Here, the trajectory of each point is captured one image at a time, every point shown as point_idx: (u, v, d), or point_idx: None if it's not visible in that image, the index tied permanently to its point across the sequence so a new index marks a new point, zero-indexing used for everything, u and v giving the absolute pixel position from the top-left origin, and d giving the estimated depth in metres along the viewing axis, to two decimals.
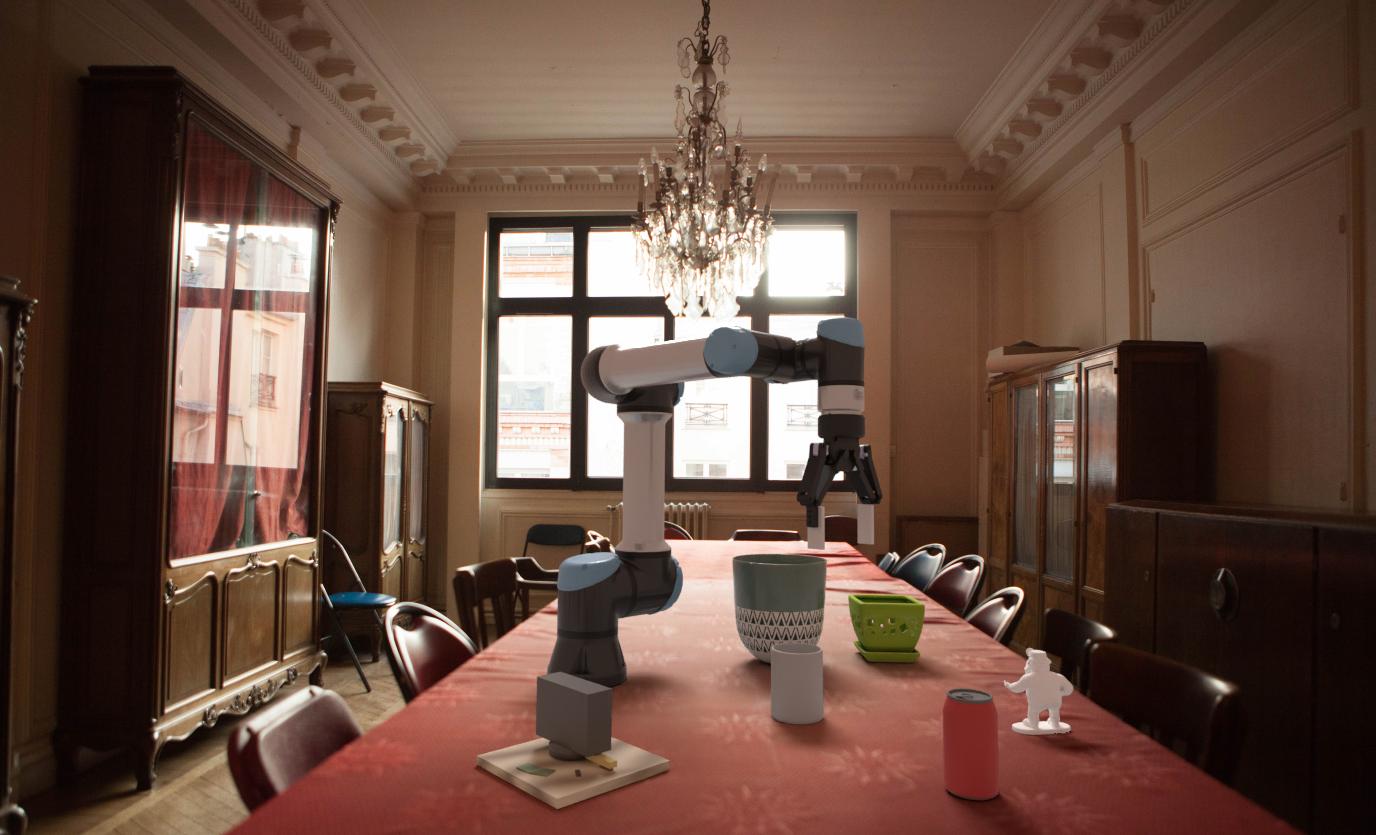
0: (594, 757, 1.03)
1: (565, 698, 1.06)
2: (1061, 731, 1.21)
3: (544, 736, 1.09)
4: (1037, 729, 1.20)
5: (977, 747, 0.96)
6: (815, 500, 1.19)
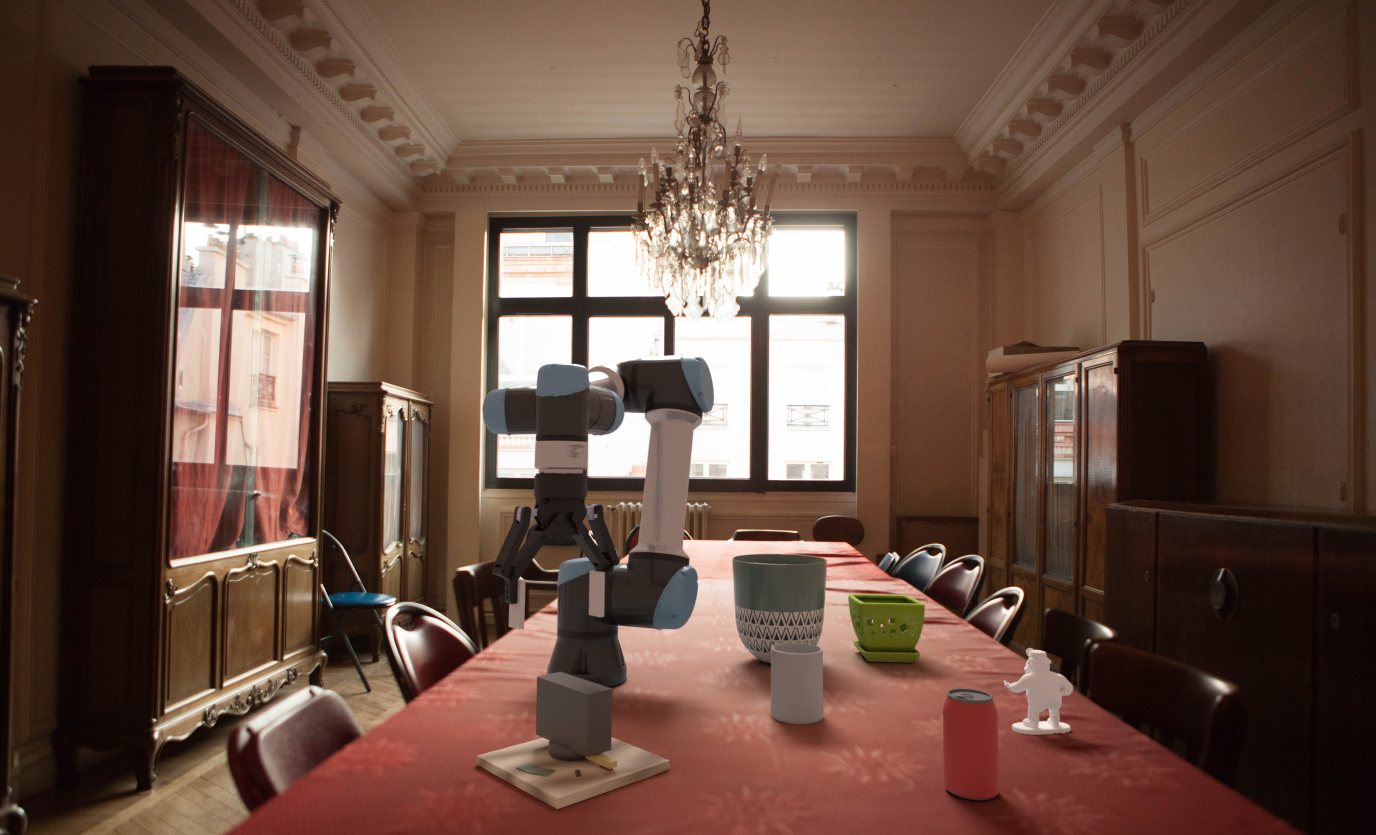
0: (594, 757, 1.03)
1: (565, 698, 1.06)
2: (1061, 731, 1.21)
3: (544, 736, 1.09)
4: (1037, 729, 1.20)
5: (977, 747, 0.96)
6: (512, 573, 1.05)
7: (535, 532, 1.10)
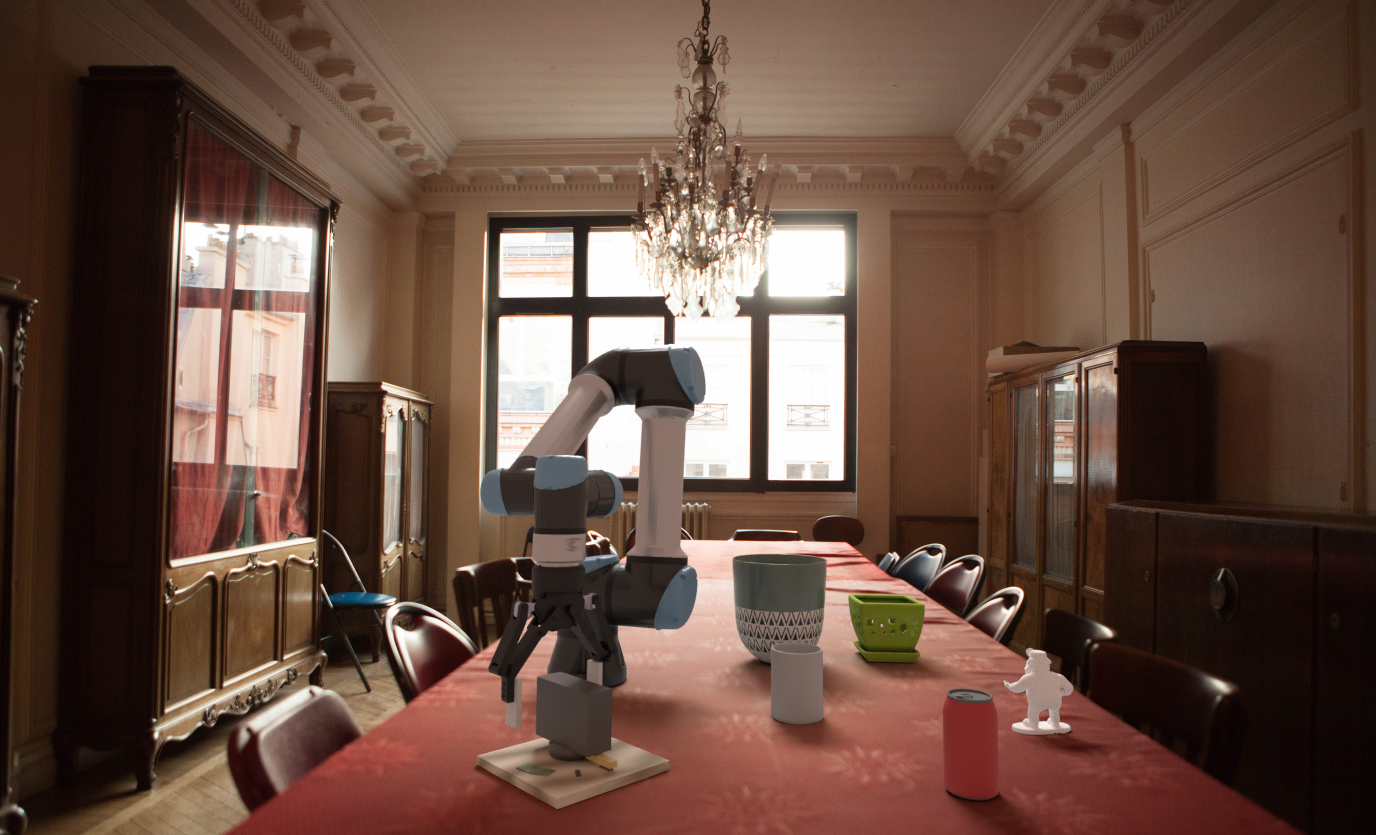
0: (594, 757, 1.03)
1: (565, 698, 1.06)
2: (1061, 731, 1.21)
3: (544, 736, 1.09)
4: (1037, 729, 1.20)
5: (977, 747, 0.96)
6: (509, 672, 1.04)
7: (532, 626, 1.09)
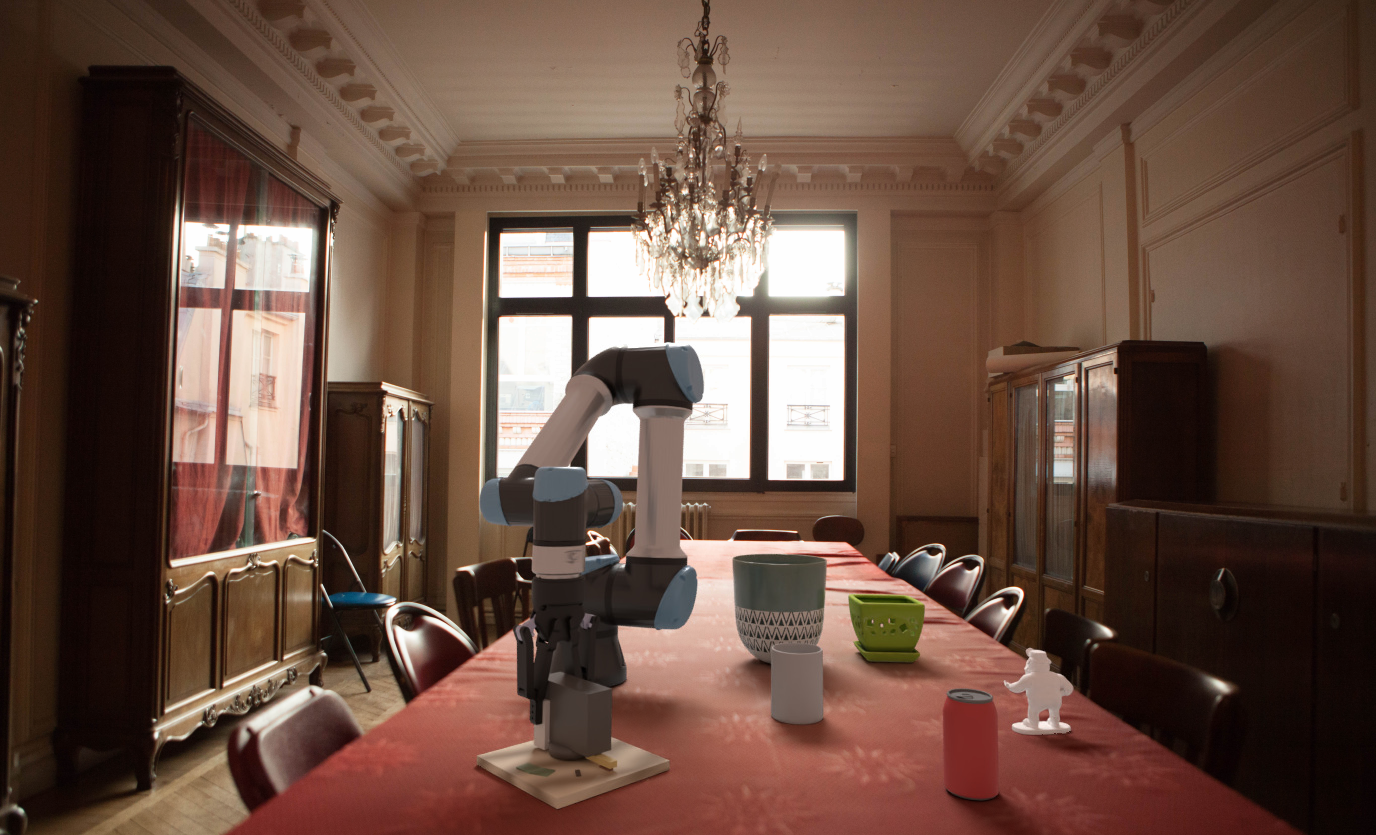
0: (594, 757, 1.03)
1: (565, 698, 1.06)
2: (1061, 731, 1.21)
3: None
4: (1037, 729, 1.20)
5: (977, 747, 0.96)
6: (537, 697, 1.07)
7: (540, 644, 1.10)
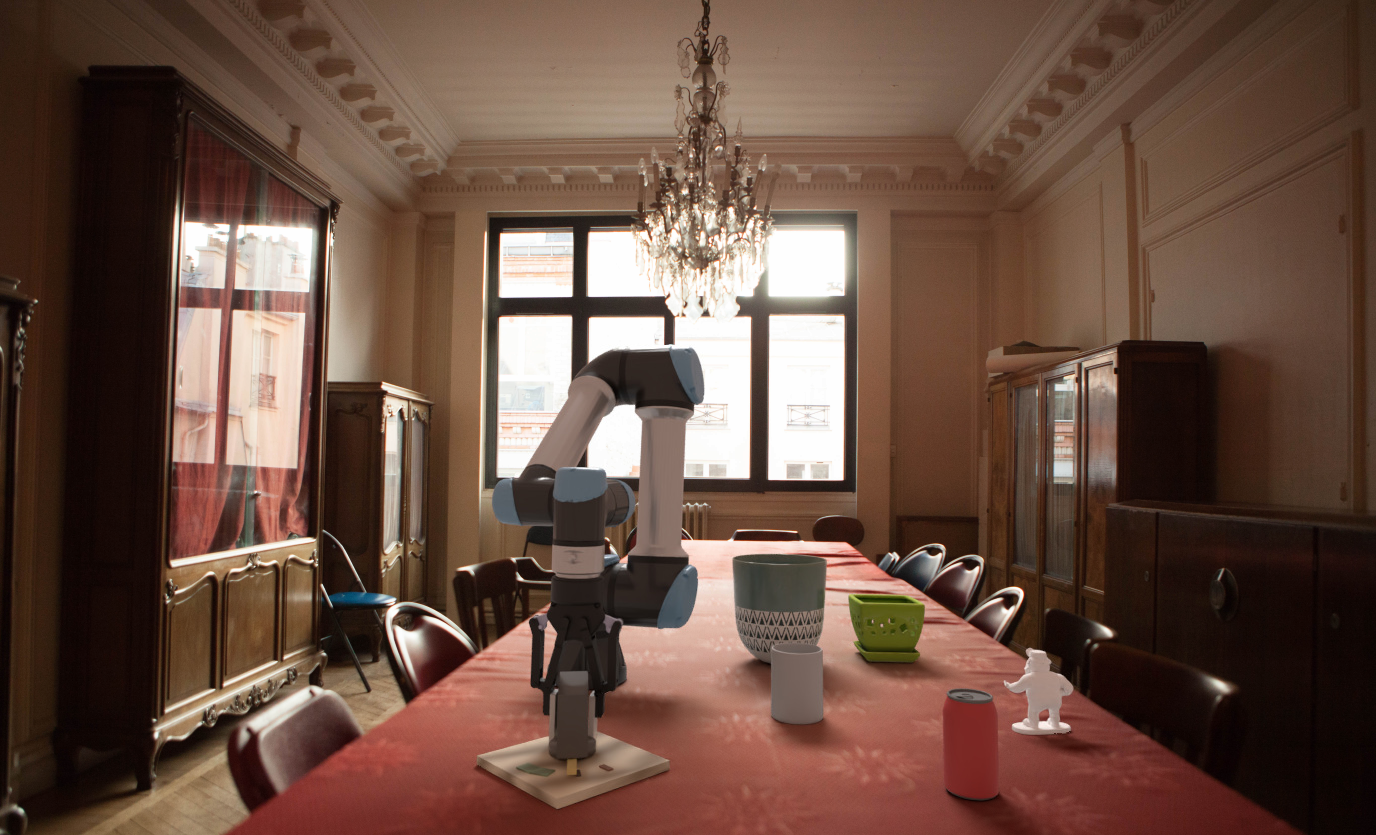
0: (567, 760, 1.02)
1: None
2: (1061, 731, 1.21)
3: None
4: (1037, 729, 1.20)
5: (977, 747, 0.96)
6: (543, 687, 1.11)
7: None
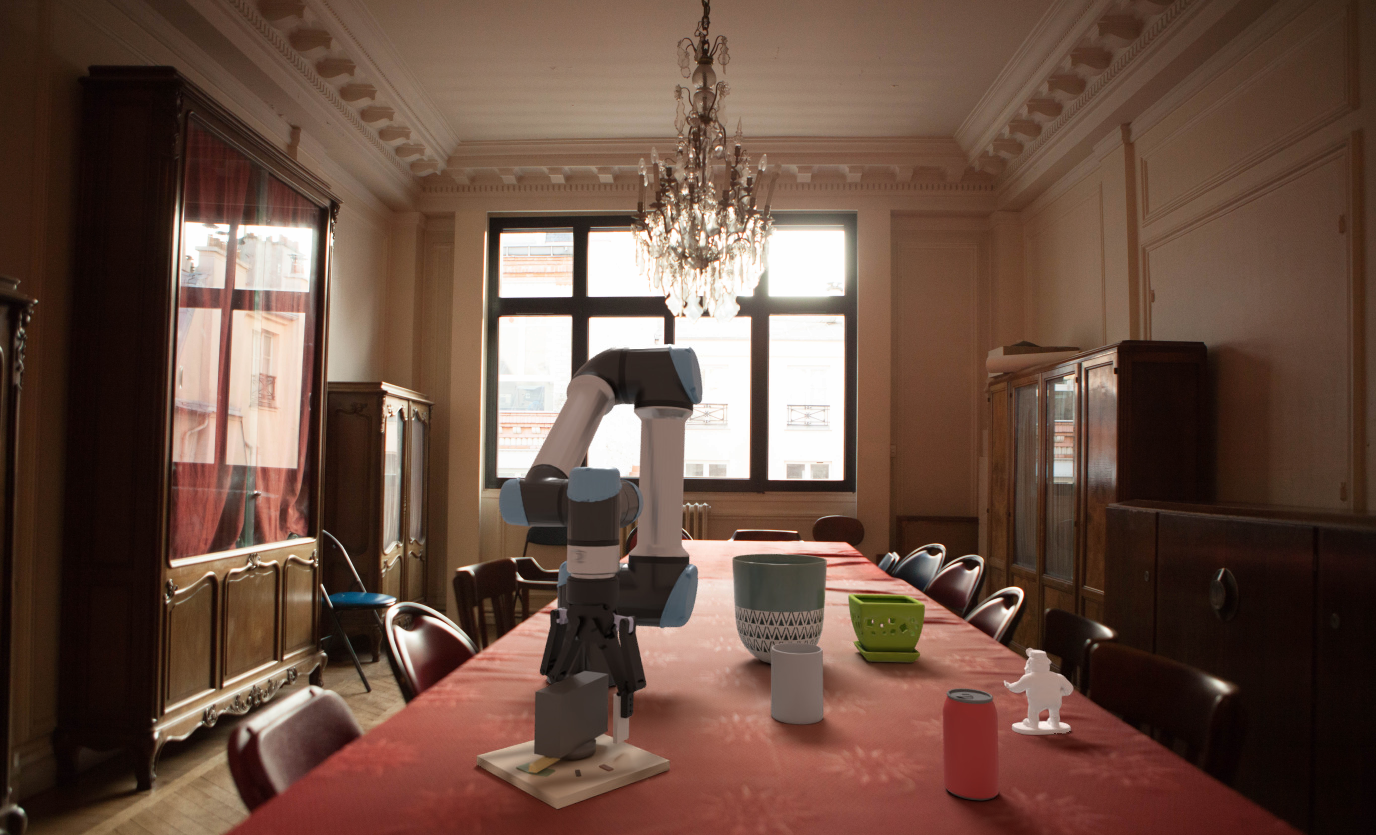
0: None
1: None
2: (1061, 731, 1.21)
3: None
4: (1037, 729, 1.20)
5: (977, 747, 0.96)
6: None
7: None
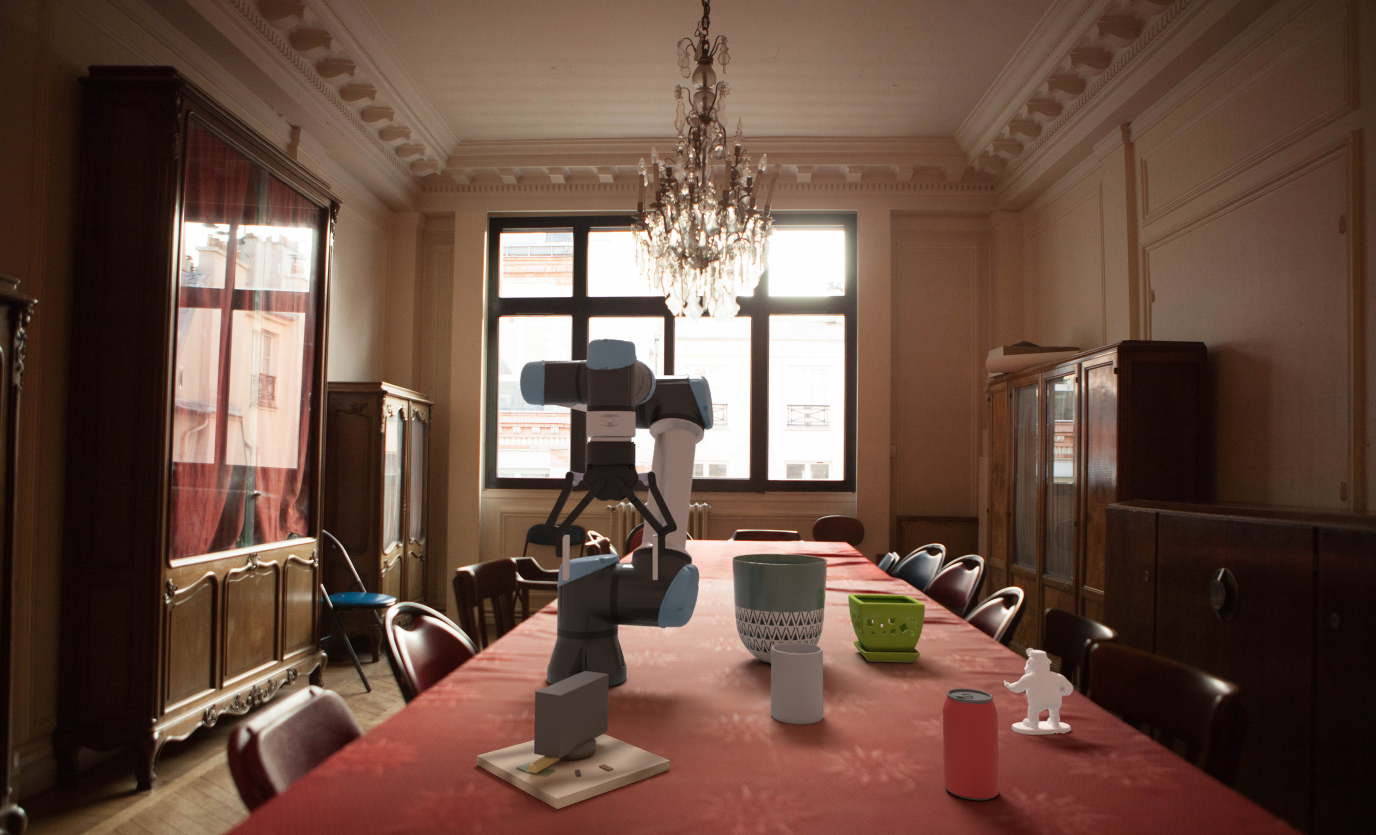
0: None
1: None
2: (1061, 731, 1.21)
3: None
4: (1037, 729, 1.20)
5: (977, 747, 0.96)
6: (556, 530, 1.19)
7: None
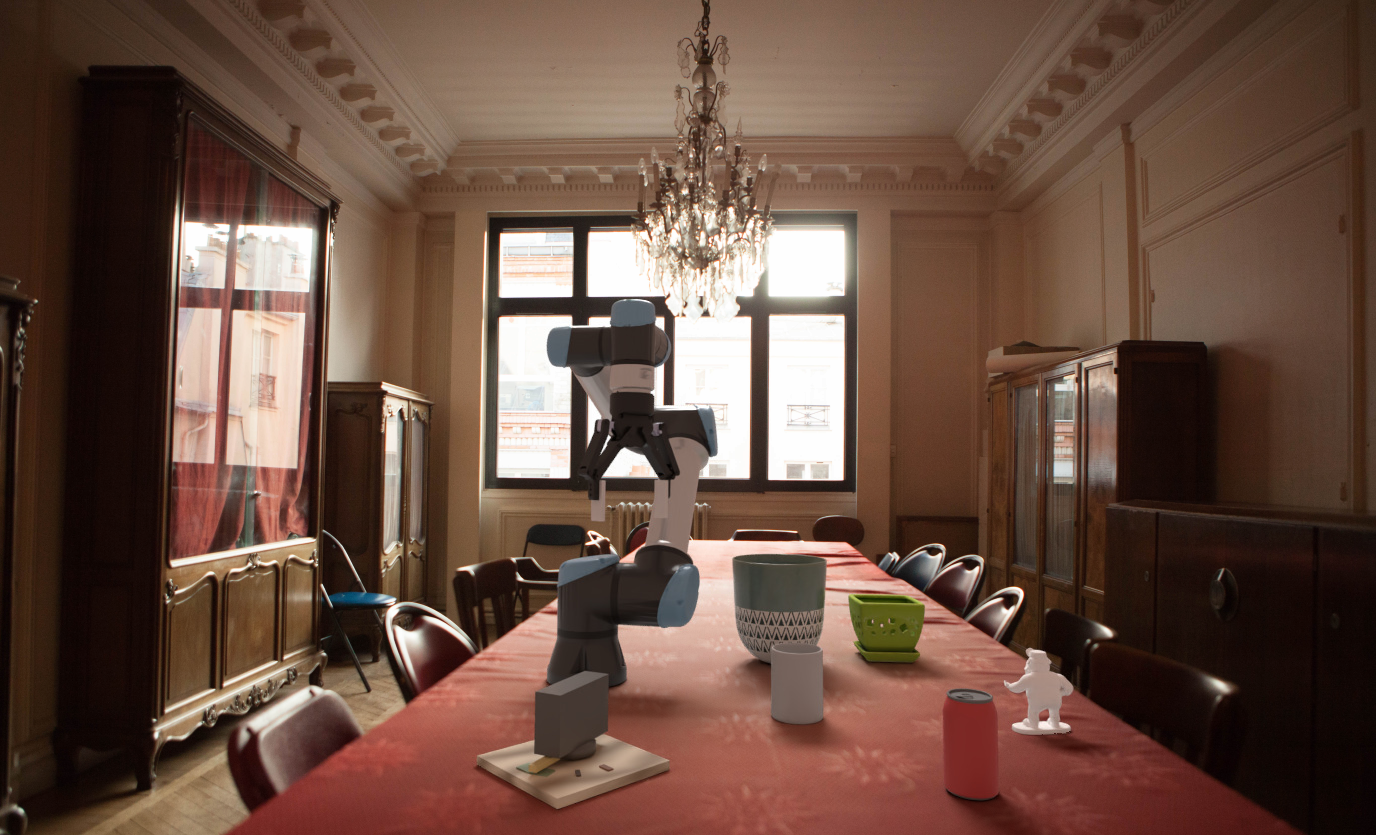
0: None
1: None
2: (1061, 731, 1.21)
3: None
4: (1037, 729, 1.20)
5: (977, 747, 0.96)
6: (595, 474, 1.25)
7: (612, 442, 1.29)
